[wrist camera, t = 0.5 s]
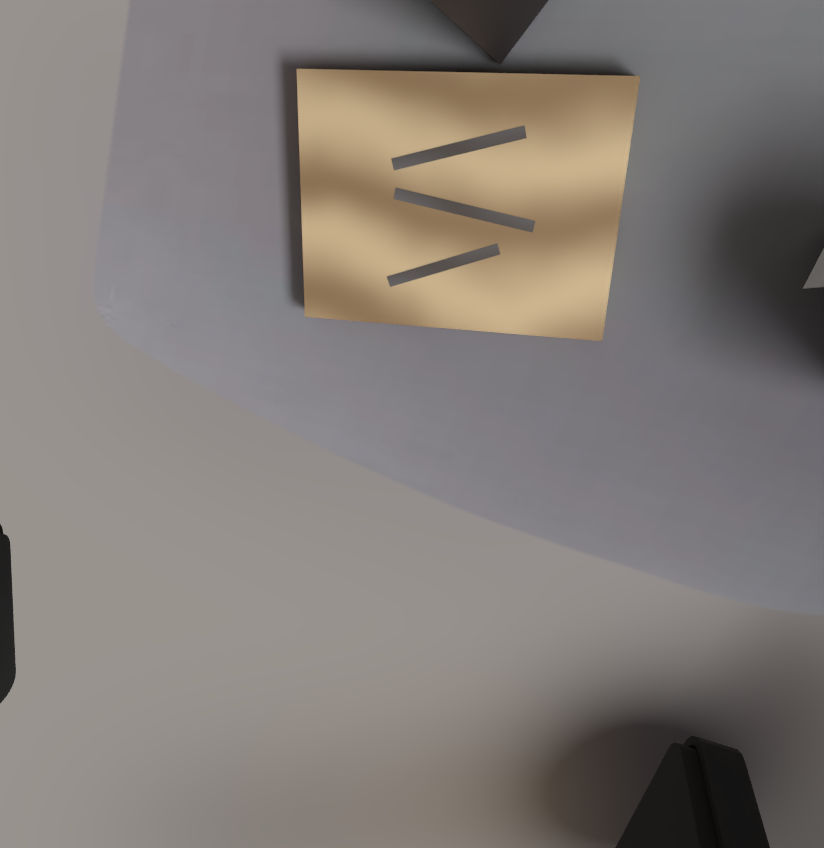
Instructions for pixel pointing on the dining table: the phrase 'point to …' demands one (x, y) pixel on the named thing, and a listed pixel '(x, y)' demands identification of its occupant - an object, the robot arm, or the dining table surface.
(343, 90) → the marked board
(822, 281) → the toilet tissue
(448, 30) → the dining table surface
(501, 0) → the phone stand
